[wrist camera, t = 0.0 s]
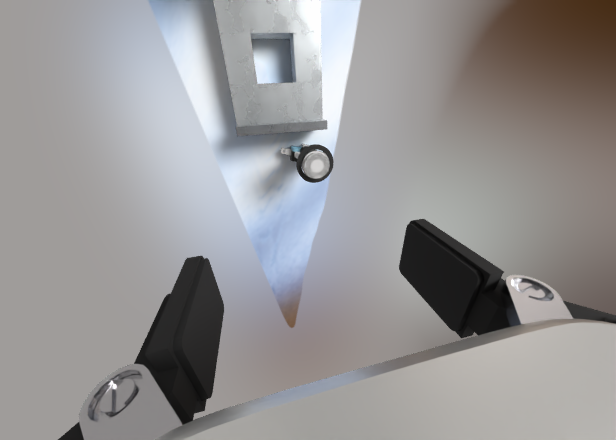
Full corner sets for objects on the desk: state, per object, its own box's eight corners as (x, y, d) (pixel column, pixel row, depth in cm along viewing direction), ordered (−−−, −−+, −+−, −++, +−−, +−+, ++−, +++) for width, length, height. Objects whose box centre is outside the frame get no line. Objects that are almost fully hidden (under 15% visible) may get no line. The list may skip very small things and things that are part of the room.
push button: (278, 164, 39) (286, 181, 30) (282, 132, 36) (291, 141, 28) (314, 169, 41) (330, 186, 32) (320, 139, 38) (339, 149, 30)
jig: (209, -27, 26) (200, -56, 22) (313, -22, 29) (325, -48, 24) (239, 132, 35) (237, 136, 30) (317, 126, 37) (327, 129, 32)
